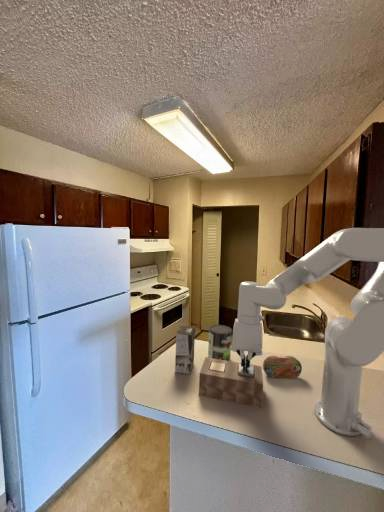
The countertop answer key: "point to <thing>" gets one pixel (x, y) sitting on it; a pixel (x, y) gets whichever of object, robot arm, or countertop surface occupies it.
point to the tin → (282, 367)
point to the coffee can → (219, 342)
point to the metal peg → (245, 373)
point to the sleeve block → (231, 383)
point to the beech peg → (217, 367)
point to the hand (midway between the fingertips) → (245, 368)
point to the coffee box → (184, 349)
